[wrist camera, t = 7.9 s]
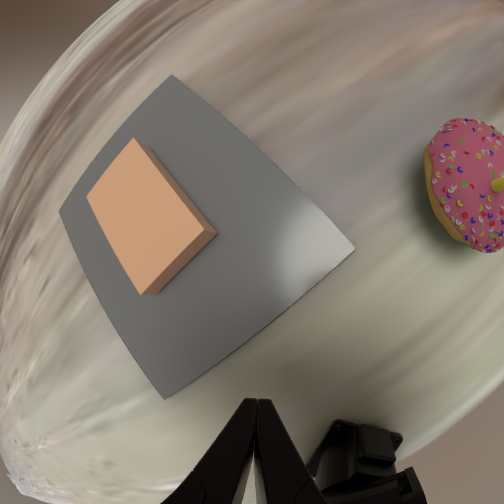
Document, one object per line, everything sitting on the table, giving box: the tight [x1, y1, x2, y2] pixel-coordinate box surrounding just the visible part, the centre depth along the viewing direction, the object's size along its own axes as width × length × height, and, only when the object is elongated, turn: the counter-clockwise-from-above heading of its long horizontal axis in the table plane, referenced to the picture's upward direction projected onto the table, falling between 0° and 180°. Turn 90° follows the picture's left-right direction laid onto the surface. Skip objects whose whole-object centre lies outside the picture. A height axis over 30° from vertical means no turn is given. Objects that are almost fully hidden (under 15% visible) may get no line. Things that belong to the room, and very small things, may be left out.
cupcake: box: [424, 118, 504, 253], centre depth 10 cm, size 9×8×12 cm
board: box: [59, 75, 355, 400], centre depth 22 cm, size 24×20×1 cm
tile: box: [87, 137, 217, 295], centre depth 21 cm, size 2×7×11 cm
